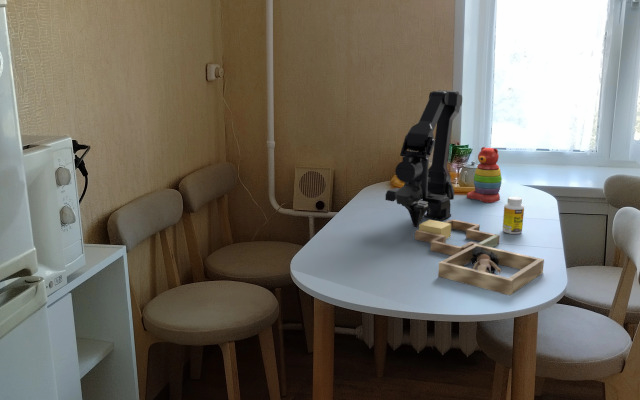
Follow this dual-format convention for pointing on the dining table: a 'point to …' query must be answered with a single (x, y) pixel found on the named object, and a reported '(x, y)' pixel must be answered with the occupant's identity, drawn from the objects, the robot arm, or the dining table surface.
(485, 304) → the dining table surface
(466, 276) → the fence
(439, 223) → the block
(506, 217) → the supplement bottle
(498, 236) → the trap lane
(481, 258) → the toy figure
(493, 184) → the stacking bear
